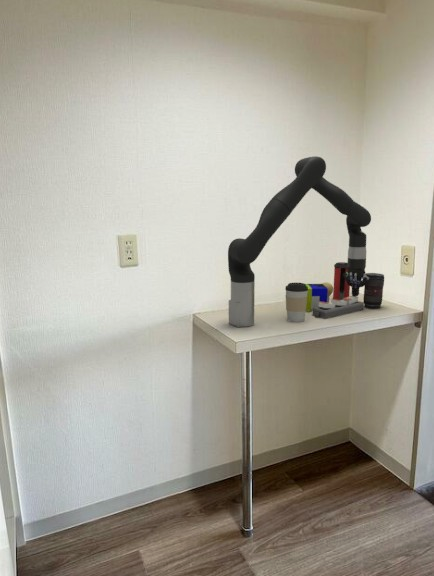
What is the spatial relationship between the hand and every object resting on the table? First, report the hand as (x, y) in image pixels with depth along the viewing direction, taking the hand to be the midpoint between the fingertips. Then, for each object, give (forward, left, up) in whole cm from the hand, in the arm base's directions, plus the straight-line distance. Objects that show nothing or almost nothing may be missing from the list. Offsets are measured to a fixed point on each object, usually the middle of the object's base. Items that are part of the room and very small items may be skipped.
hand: (355, 296), depth 185 cm
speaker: (+6, +13, -6) cm, 16 cm away
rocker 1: (-18, 0, -2) cm, 18 cm away
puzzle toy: (-14, +11, -6) cm, 19 cm away
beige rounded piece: (-5, +13, -6) cm, 15 cm away
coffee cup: (-33, +3, -6) cm, 33 cm away
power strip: (-11, 0, -6) cm, 12 cm away
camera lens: (+8, -3, -6) cm, 11 cm away
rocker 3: (-3, 0, -2) cm, 4 cm away
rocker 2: (-11, 0, -2) cm, 11 cm away
